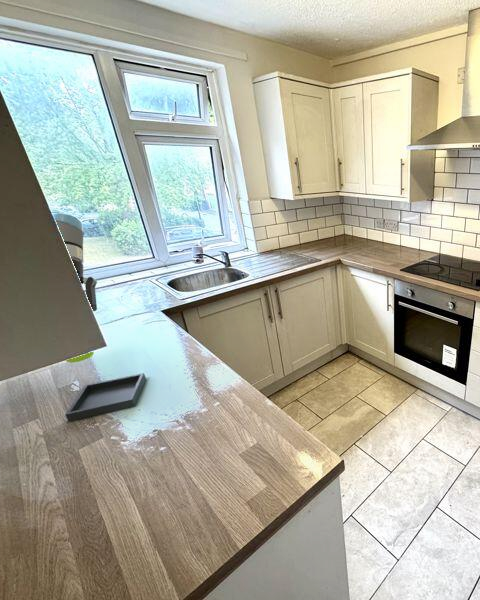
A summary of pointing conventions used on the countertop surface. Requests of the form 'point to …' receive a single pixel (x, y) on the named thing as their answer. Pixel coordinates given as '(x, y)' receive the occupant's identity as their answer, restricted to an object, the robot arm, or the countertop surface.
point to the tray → (106, 397)
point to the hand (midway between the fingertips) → (63, 338)
